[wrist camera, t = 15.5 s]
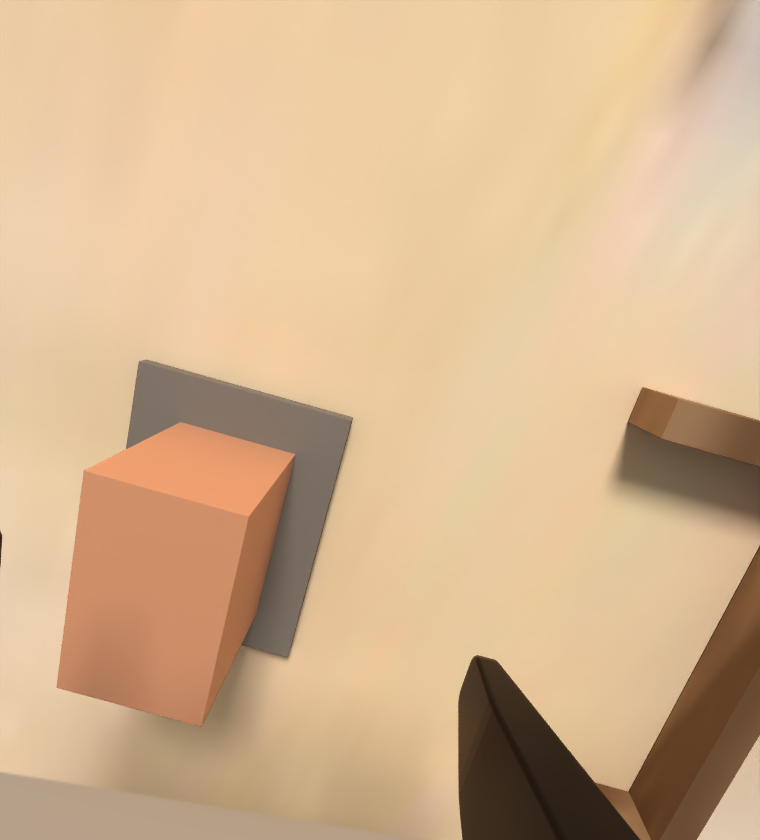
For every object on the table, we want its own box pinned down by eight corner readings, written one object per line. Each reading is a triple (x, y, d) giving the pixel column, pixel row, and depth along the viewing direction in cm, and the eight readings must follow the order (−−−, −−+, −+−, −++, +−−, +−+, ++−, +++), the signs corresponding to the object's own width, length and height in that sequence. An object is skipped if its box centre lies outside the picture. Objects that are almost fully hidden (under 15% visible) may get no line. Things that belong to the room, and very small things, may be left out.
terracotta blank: (256, 612, 21) (201, 726, 15) (151, 583, 21) (56, 687, 15) (295, 454, 19) (249, 516, 14) (180, 421, 19) (83, 470, 13)
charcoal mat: (352, 417, 19) (351, 420, 19) (290, 648, 22) (287, 657, 22) (146, 359, 19) (138, 361, 19) (110, 599, 22) (102, 607, 22)
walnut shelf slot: (853, 447, 19) (920, 467, 16) (645, 821, 24) (672, 879, 21) (642, 387, 19) (678, 398, 16) (477, 776, 24) (486, 829, 21)
